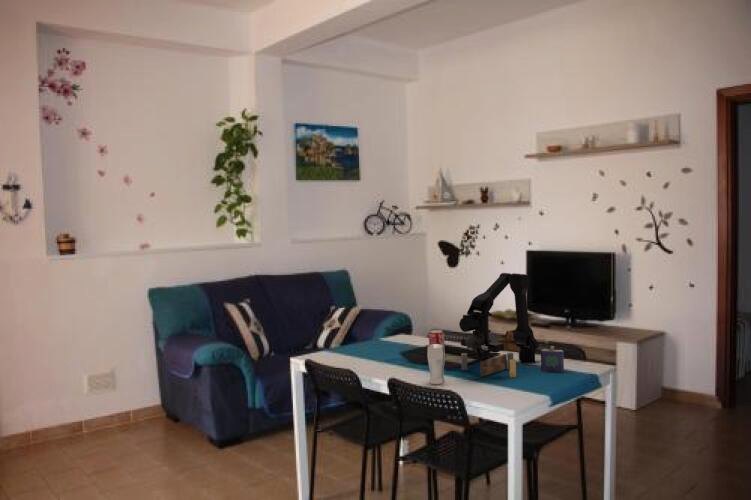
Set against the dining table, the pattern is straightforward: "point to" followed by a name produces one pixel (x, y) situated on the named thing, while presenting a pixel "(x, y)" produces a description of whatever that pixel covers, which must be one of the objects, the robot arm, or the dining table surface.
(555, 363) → the flask
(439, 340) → the soda can
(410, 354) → the dining table surface
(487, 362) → the brown wooden plank
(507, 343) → the wooden carving
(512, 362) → the frame
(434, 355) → the beer glass
